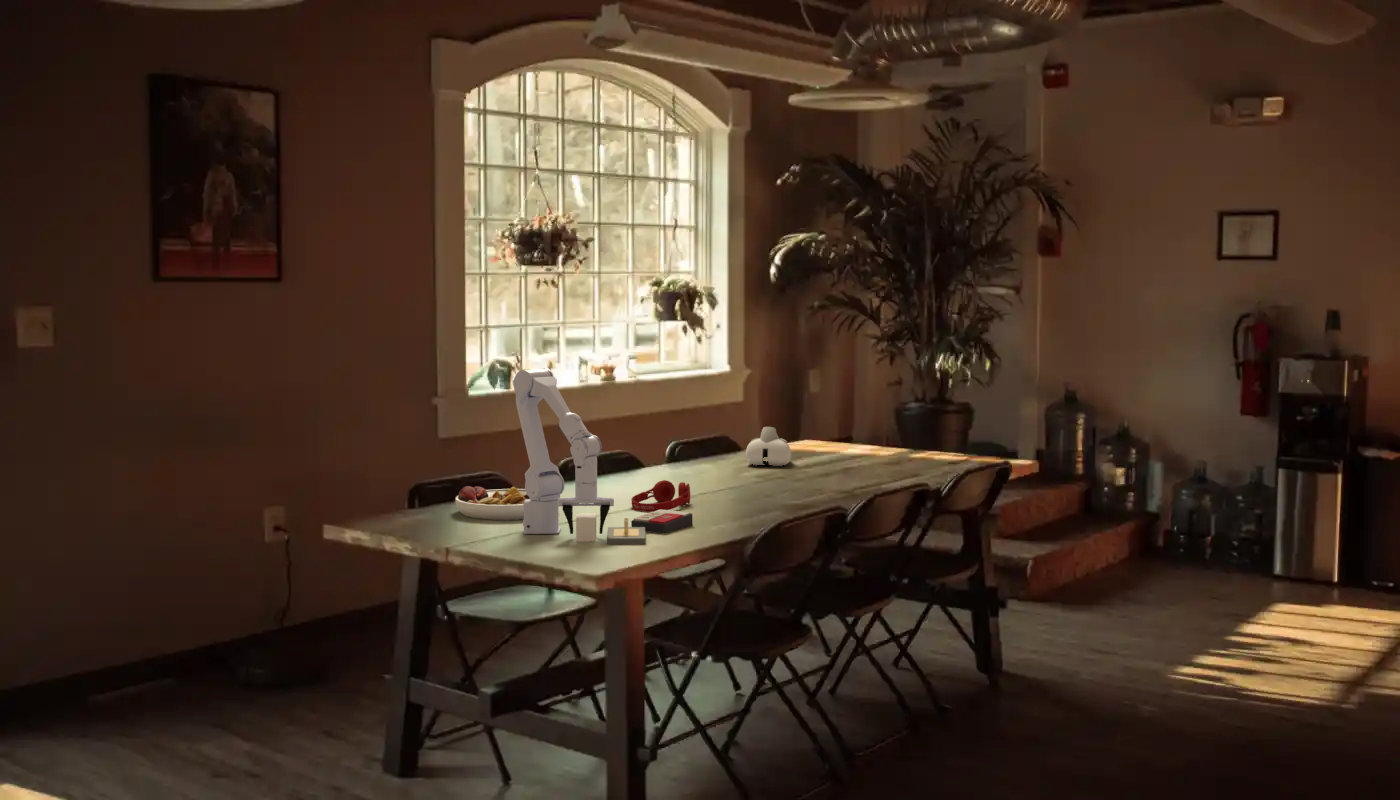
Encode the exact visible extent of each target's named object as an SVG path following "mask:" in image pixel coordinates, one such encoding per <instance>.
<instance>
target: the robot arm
mask: <svg viewBox="0 0 1400 800" xmlns="http://www.w3.org/2000/svg"><path fill="white" fill-rule="evenodd" d="M512 385H513V391H514V393H515V404H516V409H517V414H518V418H519V422H520V426H521V431H522V436H523V439H524V444H525V449H526V452H527V457H528V461H529V468H528V469H527V470H526V471H525V473H524V478H525V484H524V489H525V490H526V493H527V495H528V496H529V497H530V499H526V500H524V519H522V521H523V522H522V526H523V534H524V535H532V534H533V535H534V534H536V535H537V534H538V535H539V534H540V535H541V534H542V535H544V534H545V535H546V534H548V535H551V534H560V532H561V529H562V527H561V526H559V507H560V508H561V507H562V512H563V513H564V515H565V518H566V520H567V524H568V528H569V533H570V535H573V534H574V521H573V516H574V515H573V513H574V512H573V511H574V510H573V509H574V507H599V517H600V519H599V521H600V522H599V534H600V535H603V529H604V525H605V521H606V519H607V516H608V513H609V512H610V508H611V507H614V506H615V498H614V497H598V457H599V456H600V454H601V452H602V446H603V445H602V442H601V440H600V437H598V436H597V435H595V434H593V433H592V432H590V431H589V430H588V429H587V427H586V426H585V423H583V420H582V418H581V416H580V415H578V414H577V413H575V412H571V410H570V408H569V406H568V405H567V403H566V402H565V399H564V398H563V396H562V394H561V392H560V390H559V389H558V387H557V385H558V380H557V378H556V376H554V374H553V371H552V370H551V369H549V368H545V367H544V368H541V369H540V368H539V369H520V370H518V372H517V373H516V374H515V376H514V377H513V380H512ZM542 399H544V400H545V402H546V403H547V405H548V406H549V407H550V408H551V410H552V411H553V412H554V414H555V415H556V416H557V418H558V419H559V423H558V427H559V428H560V430H561V431H562V433H563V435H564V436H565V438H566V439H567V441H568V443H570V445H571V447H569V449H570V450H569V451H570V454H571V456H572V458H573V465H574V468H575V471H574V473H575V474H574V477H575V478H574V479H575V484H574V485H575V487H574V488H575V490H574V491H575V495H574V496H575V497H561V495H562V494H563V492H564V490H565V480H564V477H563V476H562V474H561V473H560V470H559V467H558V466H557V465H556V464H555V463H553V462H552V461H551V459H550V455H549V449H548V446H547V441H546V438H545V433H544V428H543V425H542V420H541V417H540V412H539V407H538V406H539V403H540V402H541V401H542ZM558 498H559V499H558Z"/></svg>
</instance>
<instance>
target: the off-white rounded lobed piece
mask: <svg viewBox="0 0 1400 800" xmlns="http://www.w3.org/2000/svg"><path fill="white" fill-rule="evenodd" d="M787 442H788V441H787V440H786V439H784V438H782V437H781V438H779V436H778V433H777V429H776V427H773V426H763V428H762V429H761V432H760V436H759V437H755V438H753V439H751V440H750V442H749V443H748V444H747V446H746V450H745V460H746V462H747V463H748V464H749V465H752V464H753V465H752V466H757V465H763V464H764V463H765V462H763V458H764V457H768V463H767V464H768V465H773V466H772V467H783V465H784V466H786V465H787V464H789V463H790V461H791V460H792V450H791V447H790V445H789V444H788V443H787ZM754 464H755V465H754Z"/></svg>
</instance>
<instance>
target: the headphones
mask: <svg viewBox="0 0 1400 800" xmlns="http://www.w3.org/2000/svg"><path fill="white" fill-rule="evenodd" d="M649 494H651V495H649ZM675 494H676V488H675V485H674V484H673V483H672V482H671V481H670V480H666V479H663V480H659V481H658V482H656V483H655V484H654V485H653V487H652V488H649V489H648V490H646V491H642V492H640V493H637V494H635V495H634V496H632V497H631V507H632V509H633V510H636V511H639V512H647V513H650V512H654V511H657V510H660V509H661V510H673V509H676V508H677V507H680V506H682V505H684V506H687V505H690V503H691V487H690V483H687V484H686V483H685V481H684V482H683V481H682V482H679V483H678V497H676V498H675ZM652 498H654V500H655V501H656V502H653V503H645V502H643V501H646V500H649V499H652Z"/></svg>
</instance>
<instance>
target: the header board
mask: <svg viewBox="0 0 1400 800" xmlns="http://www.w3.org/2000/svg"><path fill="white" fill-rule="evenodd" d="M623 521H624V522H623V526H622V527H621V526H619V527H618V526H616V527H615V526H612V527H611V526H608V527H607V532H606V545H646V532H645V527H631V526H629V518H628V517H625V518H624V520H623Z"/></svg>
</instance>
